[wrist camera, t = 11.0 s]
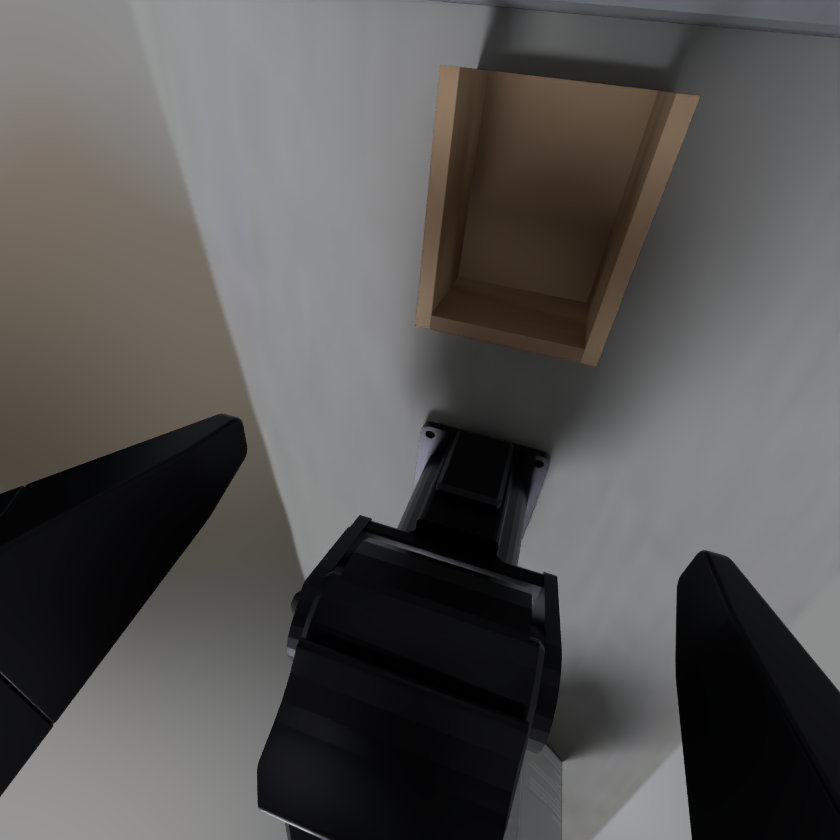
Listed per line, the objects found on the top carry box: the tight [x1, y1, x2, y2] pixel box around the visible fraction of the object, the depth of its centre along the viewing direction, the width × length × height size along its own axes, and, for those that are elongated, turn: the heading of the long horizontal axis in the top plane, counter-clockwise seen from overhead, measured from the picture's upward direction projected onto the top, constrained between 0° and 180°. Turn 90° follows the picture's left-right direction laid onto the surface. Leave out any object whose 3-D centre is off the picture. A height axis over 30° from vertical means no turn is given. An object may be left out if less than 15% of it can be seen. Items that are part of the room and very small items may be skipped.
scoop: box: [415, 65, 700, 367], centre depth 15 cm, size 7×6×4 cm
